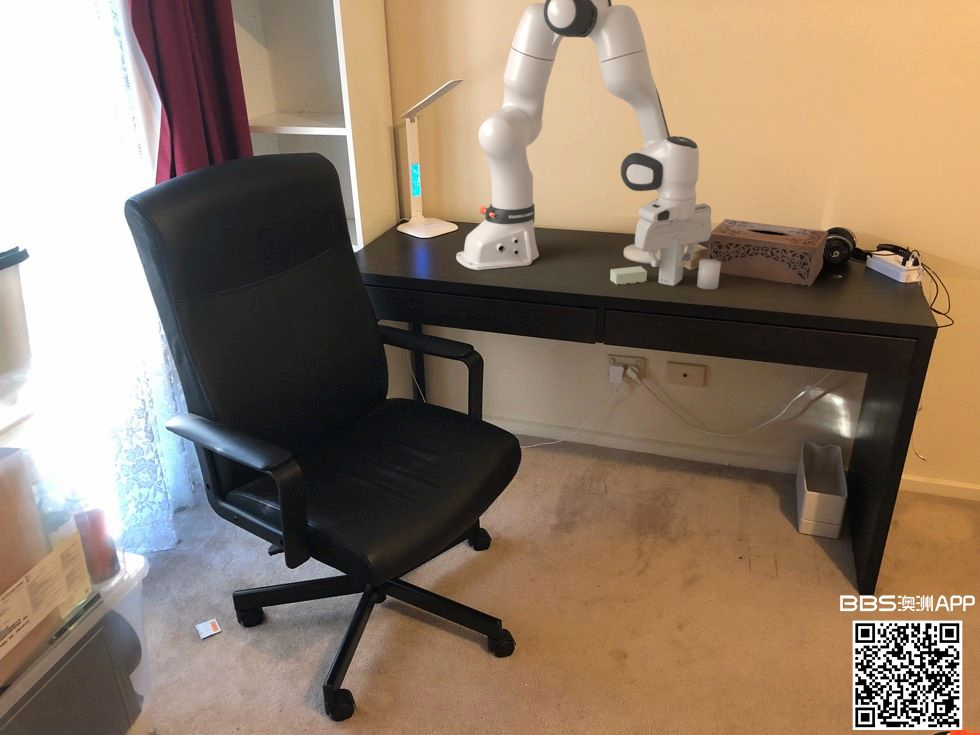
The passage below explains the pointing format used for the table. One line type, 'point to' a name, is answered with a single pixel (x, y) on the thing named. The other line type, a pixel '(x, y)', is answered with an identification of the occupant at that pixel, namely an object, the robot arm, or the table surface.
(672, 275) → the skincare box
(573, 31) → the robot arm
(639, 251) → the cream saucer
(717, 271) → the grey plastic cylinder
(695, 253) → the birch block
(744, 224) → the tissue box cover
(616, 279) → the sage brick
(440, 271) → the table surface
